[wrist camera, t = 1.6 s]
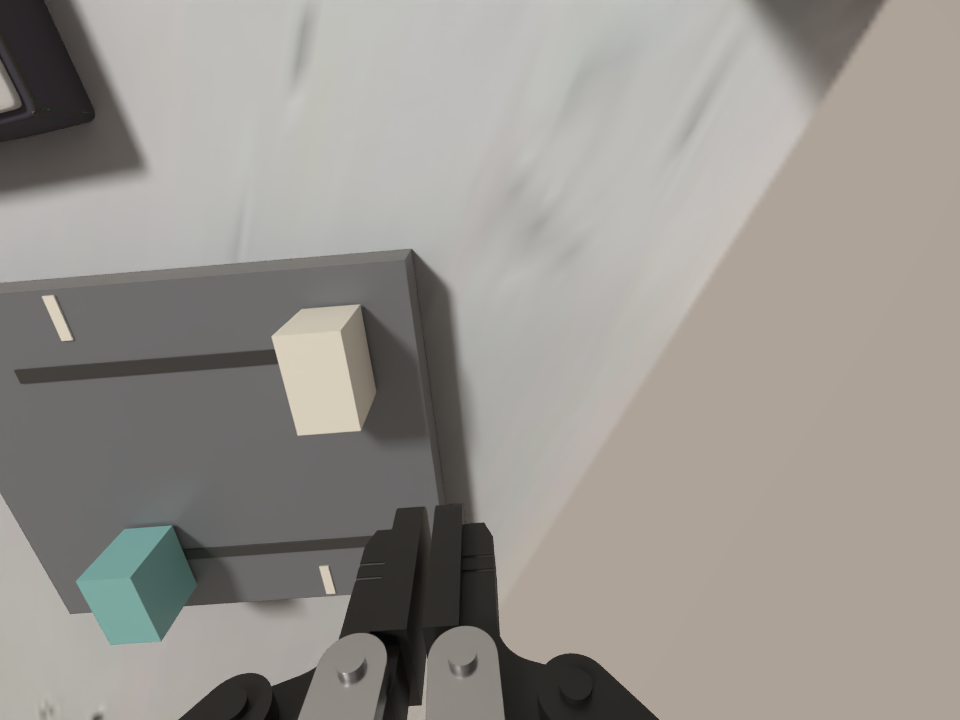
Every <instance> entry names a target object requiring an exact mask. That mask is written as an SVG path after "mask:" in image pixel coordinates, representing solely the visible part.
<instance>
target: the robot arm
mask: <svg viewBox="0 0 960 720" xmlns="http://www.w3.org/2000/svg"><path fill="white" fill-rule="evenodd" d="M426 653H427V659H428V661H427V690H426V720H659V719H658V718H657V717H656V716H655V715H654V714H653V713H651V712H650V711H649V710H648V709H647V708H646V707H645V706H644V705H643V704H642V703H641V702H640V701H639V700H637V699H636V698H635V697H634V696H633V695H632V694H631V693H630V692H629V691H627V689H626V688H624V687H623V686H622V685H621V684H620V683H619V682H618V681H617V680H616V679H615V678H614V677H613V676H611V675H610V674H609V673H608V672H607V671H606V670H605V669H604V668H603V667H602V666H601V665H599V664H598V663H597V662H596V661H594V660H593V659H591V658H589V657H586V656H584V655H580V654H571V653H570V654H563V655H559V656H557V657H555V658H553V659H551V660H550V661H549V662H548V663H547V664H546V665H545V664H541V663H537V662H534V661H530V660H527V659H524V658H522V657H519V656H518V655H516V654H515V653H513V652H512V651H511V650H510V649H509V648H508V647H507V646H506V645H505V644H504V642H503V641H502V639H501V637H500V630H499V611H498V593H497V577H496V566H495V555H494V544H493V536H492V535H491V533H490V531H489V530H488V528H487V527H486V525H485V523H471V524H466V519H465V510H464V504H463V503H462V504H448V505H436V506H435V512H434V521H433V530H432V539H431V534H430V528H429V521H428V515H427V509H426V507H425V506H422V507H408V508H397V510H396V513H395V518H394V522H393V527H392V529H389V530H377V531H376V532H375V534H374V535H373V536H372V538H371V539H370V540H369V541H368V543H367V544H366V545H365V548H364V551H363V555H362V558H361V562H360V567H359V569H358V573H357V576H356V581H355V584H354V587H353V591H352V594H351V598H350V602H349V605H348V609H347V613H346V616H345V620H344V623H343V627H342V631H341V634H340V637H339V640H338V641H336V642H335V643H334V644H332V645H331V646H330V647H329V648H328V649H327V650H326V651H325V653H324V654H323V655H322V657H321V659H320V660H319V663H318V665H317V667H315V668H314V669H312V670H310V671H309V672H307V673H305V674H302V675H300V676H298V677H295V678H292V679H290V680H287V681H285V682H282V683H279V684H277V685H274V686H272V687H271V685H270V683H269V681H268V680H267V679H266V678H265V677H264V676H262V675H259V674H255V673H246V674H240V675H237V676H235V677H232V678H230V679H228V680H226V681H225V682H223V683H221V684H220V685H219V686H217V687H216V688H215V689H214V690H212V691H211V692H210V693H209V694H208V695H207V696H205V697H204V698H203V699H202V700H201V701H200V702H198V703H197V704H196V705H195V706H194V707H193V708H192V709H190V710H189V711H188V712H187V713H186V714H185V715H183V716H182V717H181V718H180V719H179V720H407V714H408V706H417V705H422V695H423V685H424V674H425V663H426Z"/></svg>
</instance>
